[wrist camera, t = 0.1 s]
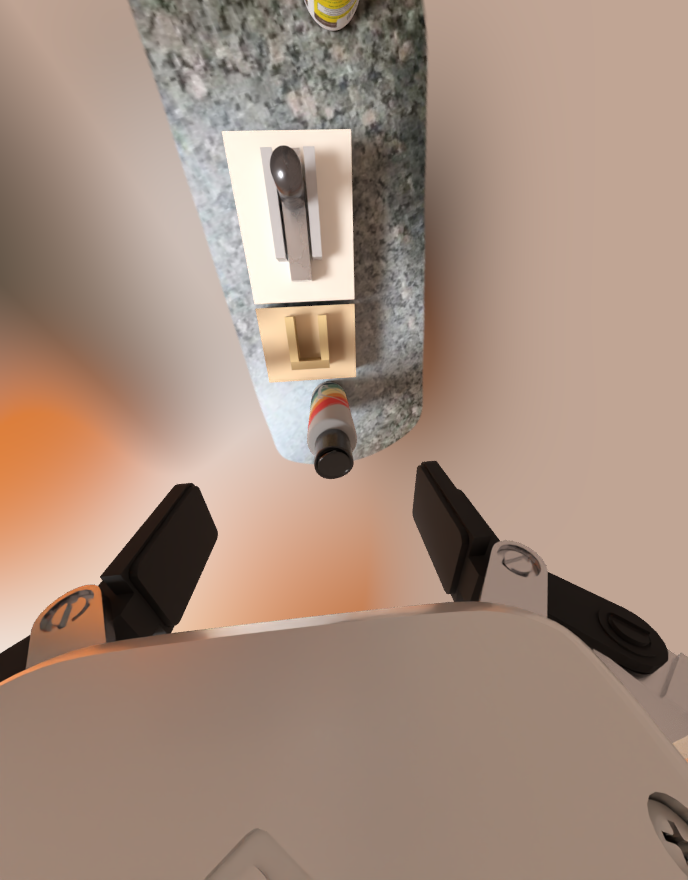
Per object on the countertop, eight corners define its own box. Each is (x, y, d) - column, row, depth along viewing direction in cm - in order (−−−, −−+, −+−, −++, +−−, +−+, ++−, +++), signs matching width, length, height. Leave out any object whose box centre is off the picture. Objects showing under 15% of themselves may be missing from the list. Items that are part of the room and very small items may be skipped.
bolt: (277, 159, 24) (262, 109, 18) (302, 159, 24) (295, 108, 18) (292, 282, 29) (284, 275, 23) (313, 281, 29) (310, 274, 23)
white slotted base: (237, 159, 27) (211, 113, 21) (346, 157, 28) (353, 111, 21) (263, 304, 34) (249, 303, 27) (350, 299, 35) (356, 298, 28)
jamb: (263, 308, 34) (250, 308, 28) (350, 304, 35) (356, 303, 28) (275, 373, 39) (266, 387, 32) (352, 368, 39) (358, 381, 33)
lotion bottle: (336, 374, 39) (348, 430, 22) (351, 404, 42) (373, 475, 24) (305, 390, 40) (292, 456, 23) (322, 419, 43) (322, 498, 25)
